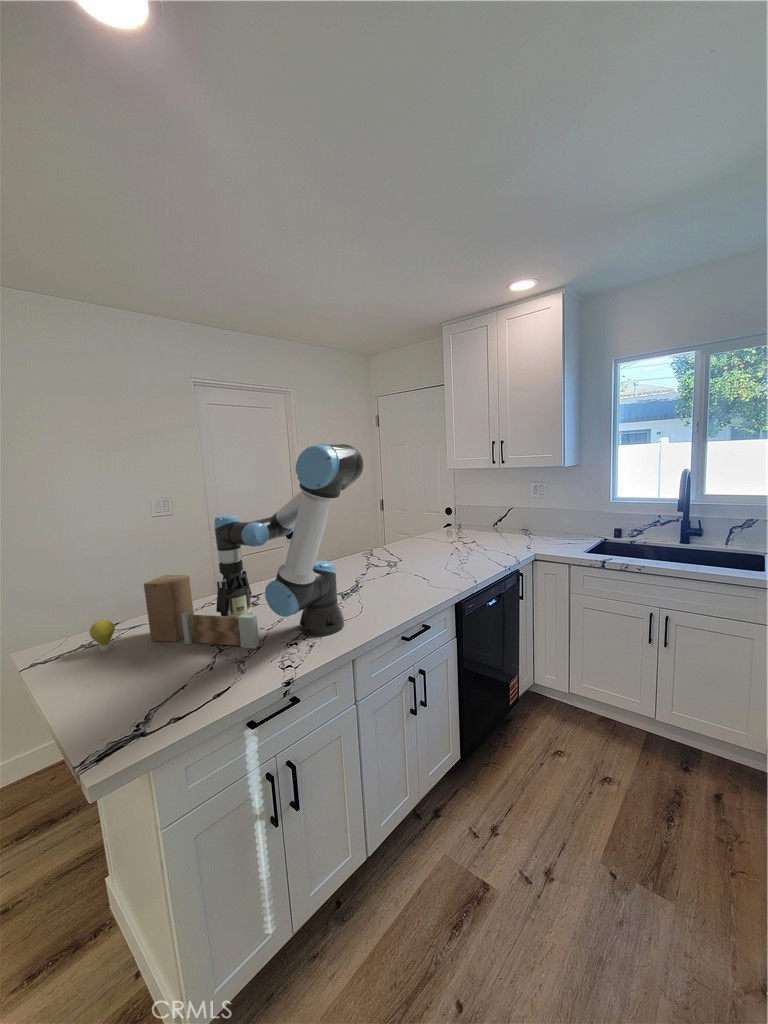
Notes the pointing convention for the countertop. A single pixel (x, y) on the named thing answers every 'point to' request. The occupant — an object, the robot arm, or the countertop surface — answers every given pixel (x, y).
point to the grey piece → (246, 630)
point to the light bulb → (102, 633)
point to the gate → (215, 629)
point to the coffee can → (239, 602)
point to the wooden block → (168, 606)
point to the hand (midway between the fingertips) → (237, 623)
